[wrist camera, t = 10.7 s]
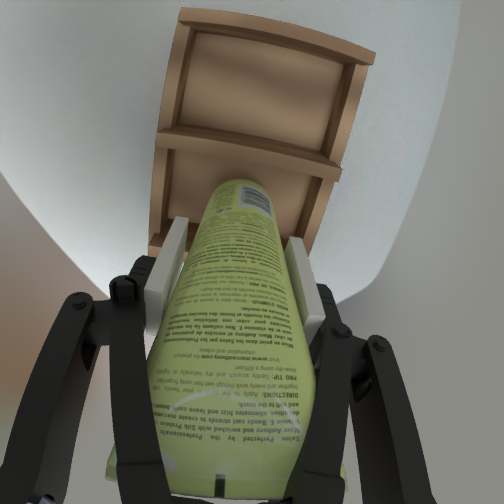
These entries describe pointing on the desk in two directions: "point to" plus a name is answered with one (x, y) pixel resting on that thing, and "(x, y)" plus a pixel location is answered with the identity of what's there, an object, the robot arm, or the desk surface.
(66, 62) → the desk surface
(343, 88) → the rack
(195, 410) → the tube
